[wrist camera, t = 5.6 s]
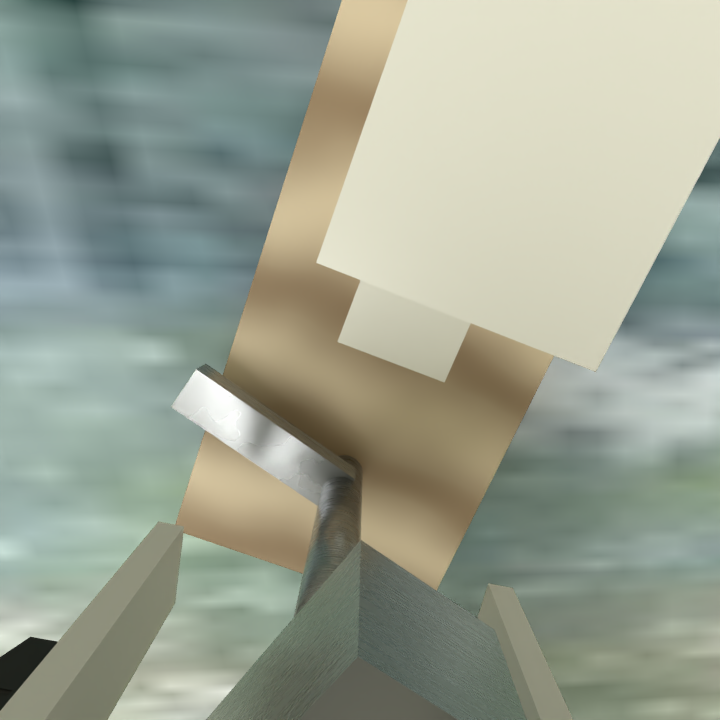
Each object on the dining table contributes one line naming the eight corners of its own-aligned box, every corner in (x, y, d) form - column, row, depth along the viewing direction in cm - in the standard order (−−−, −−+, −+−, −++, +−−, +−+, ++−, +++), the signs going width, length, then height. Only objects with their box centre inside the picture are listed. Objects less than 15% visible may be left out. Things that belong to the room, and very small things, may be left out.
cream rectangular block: (459, 383, 19) (538, 480, 10) (318, 329, 19) (274, 382, 10) (591, 91, 16) (855, -120, 7) (430, 21, 16) (509, -291, 7)
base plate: (419, 586, 24) (424, 615, 22) (190, 507, 23) (173, 529, 21) (642, 129, 18) (675, 112, 16) (353, 4, 17) (351, -30, 16)
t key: (424, 431, 19) (546, 775, 6) (324, 549, 20) (250, 1030, 7) (251, 305, 18) (-55, 395, 5) (159, 440, 19) (-264, 783, 6)
